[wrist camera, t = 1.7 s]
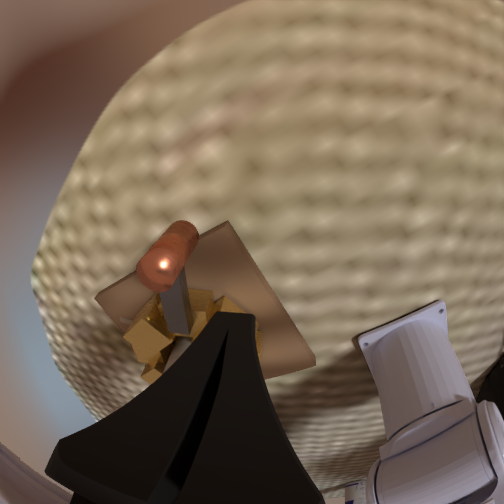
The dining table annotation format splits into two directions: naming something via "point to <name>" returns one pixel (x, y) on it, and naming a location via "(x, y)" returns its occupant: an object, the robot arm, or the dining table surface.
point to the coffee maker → (494, 388)
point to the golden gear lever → (172, 301)
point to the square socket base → (222, 284)
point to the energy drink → (355, 492)
